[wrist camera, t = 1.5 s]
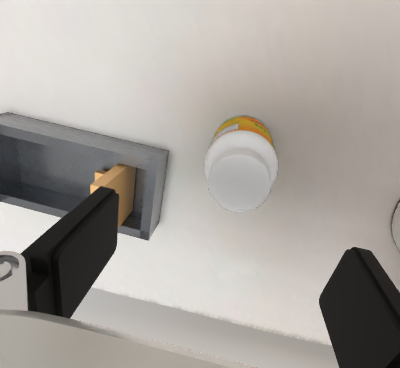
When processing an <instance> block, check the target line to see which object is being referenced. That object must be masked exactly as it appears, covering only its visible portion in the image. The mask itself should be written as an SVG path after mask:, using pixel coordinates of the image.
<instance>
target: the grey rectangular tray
mask: <svg viewBox="0 0 400 368" xmlns="http://www.w3.org/2000/svg"><path fill="white" fill-rule="evenodd" d="M168 152H169V151H167V150H163V149H159V148H155V147H150V146H146V145H142V144H138V143H134V142H129V141H125V140H121V139H117V138H113V137H108V136H104V135H100V134H96V133H91V132H87V131H83V130H79V129H75V128H70V127H66V126H62V125H58V124H54V123H49V122H45V121H41V120H37V119H32V118H28V117H24V116H20V115H16V114H11V113H2V114H0V202H4V203H8V204H12V205H16V206H20V207H23V208H27V209H31V210H35V211H39V212H42V213H46V214H50V215H54V216H58V217H61V218H62V217H64V216H65V215H66V214H67V213H69V212H71V211H72V210H73V209H74V208H76V207H77V206H78V205H79V204H80V203H81V202H82V201H84V200H85V199H86V198H87V197H88V196H89V195H90V184H92V183H93V182H94V181H95V172H96V171H97V170H103V171H109V170H110V169H111V168H113V167H114V166H115V165H117V164H118V163H120V164H124V165H128V166H132V167H136V174H135V187H134V199H133V210H132V212H131V213H130V214H129V216H128V217H127V218H126V219H125V221H124V222H123V223H122V224H121V226H120V227H119V228H118V233H122V234H126V235H130V236H133V237H137V238H141V239H145V240H149V239H150V237H151V235H152V234H153V232H154V230H155V228H156V226H157V225H158V223H159V217H160V210H161V203H162V196H163V188H164V181H165V174H166V167H167V159H168Z"/></svg>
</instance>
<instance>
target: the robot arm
mask: <svg viewBox="0 0 400 368" xmlns="http://www.w3.org/2000/svg"><path fill="white" fill-rule="evenodd" d="M118 212H119V194H117V193H116V191H115V189H112V188H107V187H103V186H100V187H99V188H97V189H96V190H95V191H94V192H93V193H92V194H91V195H89V196H88V197H87V198H86V199H85V200H84V201H82V202H81V203H80V204H79V205H78V206H77V207H76V208H74V209H73V210H72V211H71V212H69V213H67V214H66V215H65V216H64V217H62V218H61V219H60V220H59V221H58V222H57V223H56V224H54V225H53V226H52V227H51V228H50V229H49V230H47V231H46V232H45V233H44V234H43V235H42V236H40V237H39V238H38V239H37V240H36V241H35V242H34V243H32V244H31V245H30V246H29V247H28V248H27V249H25V250H24V251H23V252H22V253H21V254H19V253H16V252H10V251H2V252H0V368H256V367H252V366H249V365H245V364H241V363H237V362H234V361H230V360H226V359H223V358H219V357H215V356H212V355H208V354H204V353H200V352H196V351H193V350H189V349H186V348H182V347H178V346H174V345H170V344H167V343H163V342H159V341H155V340H151V339H148V338H144V337H140V336H136V335H132V334H129V333H125V332H121V331H117V330H113V329H110V328H105V327H102V326H97V325H93V324H89V323H85V322H81V321H77V320H73V319H70V318H71V316H72V315H73V313H74V312H75V310H76V308H77V307H78V306H79V304H80V303H81V301H82V300H83V298H84V297H85V295H86V294H87V292H88V291H89V289H90V288H91V286H92V285H93V283H94V282H95V280H96V279H97V277H98V276H99V274H100V273H101V271H102V270H103V268H104V267H105V265H106V264H107V263H108V261H109V260H110V258H111V257H112V255H113V254H114V252H115V250H116V246H117V232H118ZM392 235H393V238H394V241H395V243H396V245H397V247H398V248H399V250H400V202H399V204H398V206H397V208H396V211H395V213H394V216H393V221H392ZM319 305H320V308H321V311H322V314H323V318H324V321H325V324H326V327H327V330H328V333H329V336H330V340H331V343H332V346H333V349H334V352H335V355H336V358H337V362H338V365H339V367H340V368H400V293H399V291H398V290H397V288H396V287H395V285H394V284H393V282H392V281H391V279H390V278H389V277H388V275H387V274H386V272H385V271H384V269H383V268H382V266H381V265H380V263H379V262H378V260H377V259H376V258H375V256H374V255H373V253H372V252H371V251H369V250H365V249H361V248H357V247H353V248H351V249H348V250H346V251H345V253H344V255H343V256H342V258H341V260H340V262H339V264H338V265H337V267H336V269H335V271H334V272H333V274H332V276H331V278H330V279H329V281H328V283H327V285H326V286H325V288H324V290H323V292H322V293H321V295H320V298H319Z"/></svg>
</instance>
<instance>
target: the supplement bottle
mask: <svg viewBox="0 0 400 368" xmlns="http://www.w3.org/2000/svg"><path fill="white" fill-rule="evenodd" d="M204 173H205V177H206V180H207V182H208V189H209V192H210V195H211V196H212V198H213V200H214V201H215V202H216V203H217V204H218V205H220V206H221V207H223V208H225V209H227V210H229V211H234V212H246V211H250V210H253V209H255V208H257V207H259V206H260V205H261V204H262V203H263V202H264V201H265V200H266V199H267V197H268V195H269V193H270V190H271V186H272V185H273V184H274V182H275V179H276V177H277V173H278V160H277V155H276V152H275V149H274V146H273V143H272V139H271V136H270V133H269V131H268V129H267V128H266V126H265V125H264V124H263V123H262V122H261V121H259V120H258V119H256V118H254V117H251V116H236V117H233V118H230V119H228V120H227V121H225V122H224V123H223V124H222V125H221V126H220V127H219V129H218V130H217V132H216V134H215V136H214V138H213V140H212V142H211V145H210V147H209V149H208V151H207V153H206V156H205V160H204Z"/></svg>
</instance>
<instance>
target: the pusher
mask: <svg viewBox="0 0 400 368" xmlns="http://www.w3.org/2000/svg"><path fill="white" fill-rule="evenodd" d="M135 174H136V167H132V166H128V165H124V164H120V163H118V164H117V165H115V166H114V167H113V168H111V169H110V170H109V171H103V170H97V171H96V172H95V181H94V182H93V183H92V184H90V195H91V194H92V193H93V192H94V191H95V190H96V189H97V188H99V187H100V186H103V187H107V188H112V189H115V191H116V193H117V194H119V212H118V228H119V227H120V226H121V224H122V223H123V222H124V221H125V219H126V218H127V217H128V216H129V214H130V213H131V212H132V210H133V199H134V187H135Z"/></svg>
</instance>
